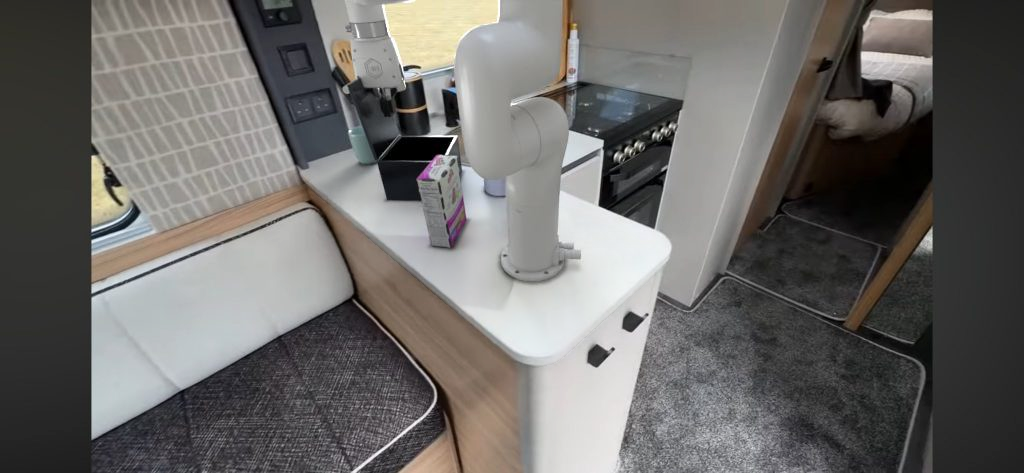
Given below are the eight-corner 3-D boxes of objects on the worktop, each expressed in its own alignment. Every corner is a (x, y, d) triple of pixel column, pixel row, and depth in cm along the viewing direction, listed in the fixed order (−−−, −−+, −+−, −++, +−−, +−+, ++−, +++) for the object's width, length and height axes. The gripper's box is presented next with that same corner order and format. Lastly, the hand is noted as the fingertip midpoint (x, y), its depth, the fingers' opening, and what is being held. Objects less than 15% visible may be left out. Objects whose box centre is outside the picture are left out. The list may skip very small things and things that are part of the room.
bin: (462, 171, 108) (457, 135, 102) (450, 201, 95) (444, 162, 89) (406, 171, 110) (398, 135, 103) (387, 200, 97) (376, 161, 90)
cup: (357, 158, 118) (348, 127, 112) (382, 154, 120) (374, 123, 114) (356, 168, 112) (347, 136, 106) (383, 164, 114) (375, 132, 108)
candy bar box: (447, 218, 89) (436, 153, 79) (467, 220, 88) (458, 154, 78) (429, 246, 80) (414, 178, 70) (451, 249, 79) (440, 179, 69)
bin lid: (378, 66, 93) (358, 69, 94) (350, 84, 80) (326, 87, 80) (399, 134, 103) (381, 135, 104) (377, 159, 90) (356, 161, 91)
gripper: (329, 34, 78) (354, 120, 89) (398, 32, 77) (415, 120, 88) (345, 29, 84) (366, 110, 95) (409, 27, 83) (423, 110, 94)
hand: (389, 115), depth 92 cm, fingers closed
